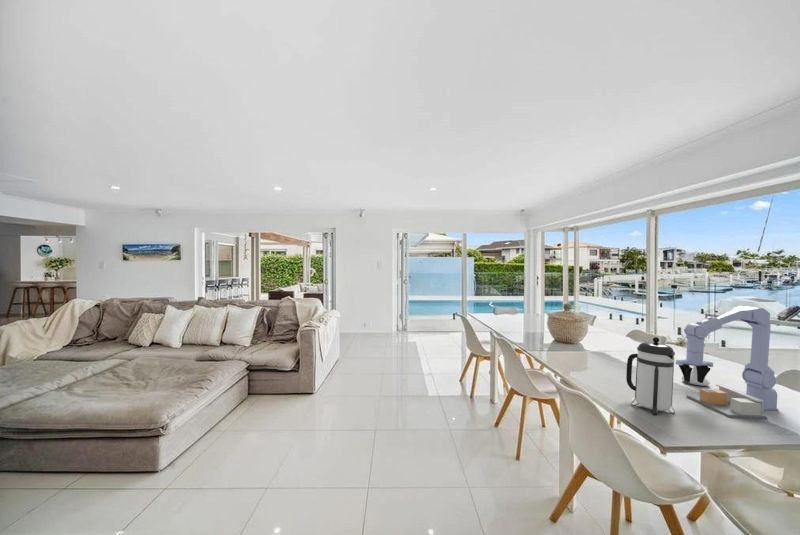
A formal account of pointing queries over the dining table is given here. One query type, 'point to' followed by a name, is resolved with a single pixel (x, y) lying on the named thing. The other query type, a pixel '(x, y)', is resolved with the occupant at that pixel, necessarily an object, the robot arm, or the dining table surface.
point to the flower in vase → (694, 378)
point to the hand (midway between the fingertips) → (693, 382)
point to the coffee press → (653, 376)
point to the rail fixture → (736, 404)
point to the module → (713, 396)
